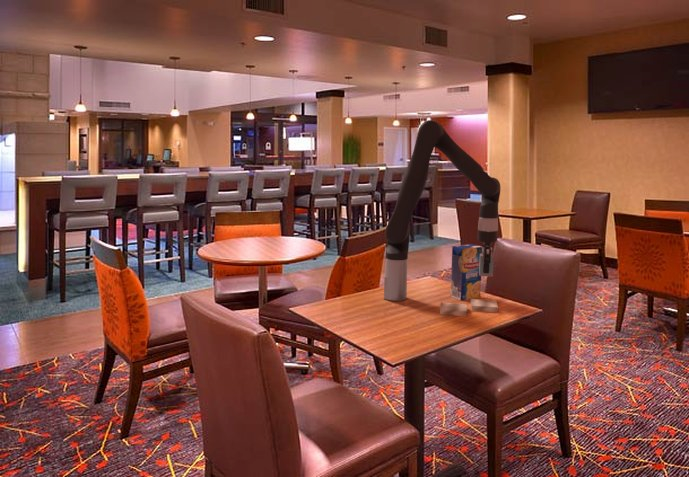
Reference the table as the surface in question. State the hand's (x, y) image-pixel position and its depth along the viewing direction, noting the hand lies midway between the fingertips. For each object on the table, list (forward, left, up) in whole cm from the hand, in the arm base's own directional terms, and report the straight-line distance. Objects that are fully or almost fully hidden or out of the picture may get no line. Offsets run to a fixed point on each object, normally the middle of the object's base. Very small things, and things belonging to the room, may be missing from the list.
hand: (485, 271), depth 217 cm
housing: (0, 0, -1) cm, 1 cm away
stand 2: (0, 0, -15) cm, 15 cm away
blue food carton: (-7, +15, -15) cm, 22 cm away
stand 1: (-12, -8, -15) cm, 21 cm away
